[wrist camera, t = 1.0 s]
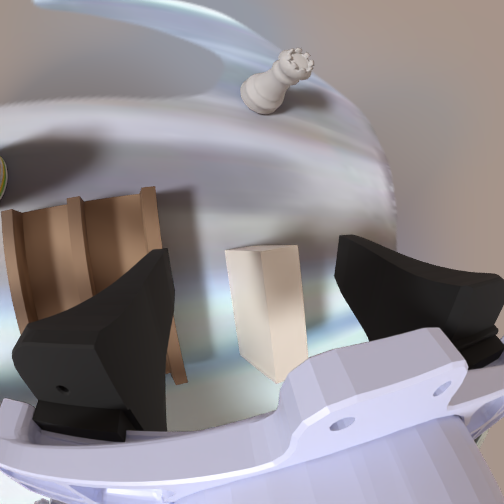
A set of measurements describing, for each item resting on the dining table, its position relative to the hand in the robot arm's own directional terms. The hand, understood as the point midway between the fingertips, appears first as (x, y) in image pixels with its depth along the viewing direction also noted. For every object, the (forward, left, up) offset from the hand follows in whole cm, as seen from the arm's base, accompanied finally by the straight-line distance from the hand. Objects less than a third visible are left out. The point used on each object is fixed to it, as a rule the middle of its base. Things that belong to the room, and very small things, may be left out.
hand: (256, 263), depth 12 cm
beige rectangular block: (-5, -5, -14) cm, 16 cm away
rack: (-2, +9, -14) cm, 16 cm away
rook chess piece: (+15, -9, -14) cm, 22 cm away
